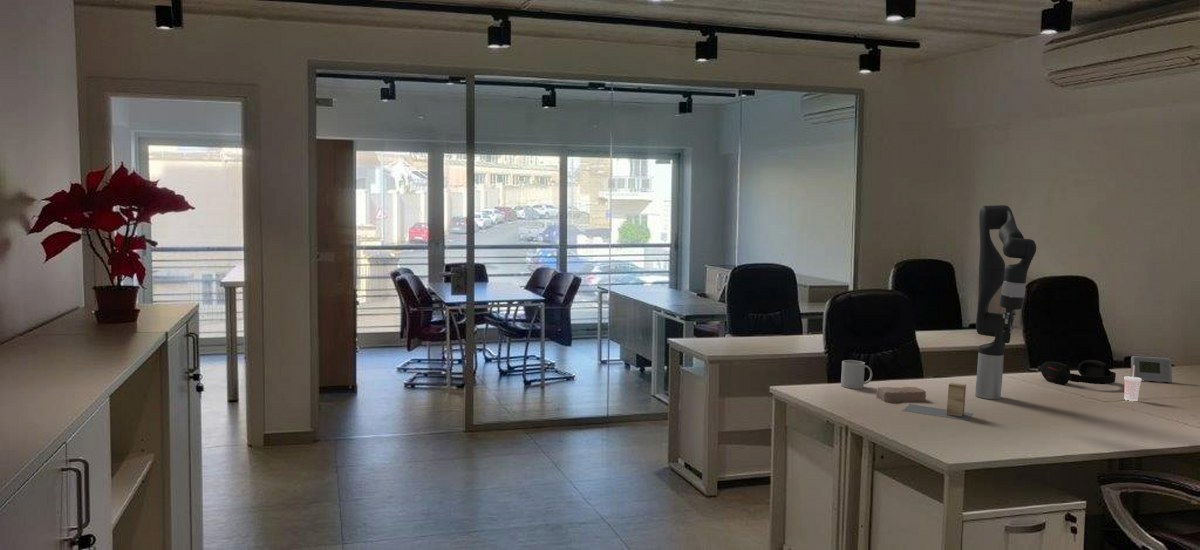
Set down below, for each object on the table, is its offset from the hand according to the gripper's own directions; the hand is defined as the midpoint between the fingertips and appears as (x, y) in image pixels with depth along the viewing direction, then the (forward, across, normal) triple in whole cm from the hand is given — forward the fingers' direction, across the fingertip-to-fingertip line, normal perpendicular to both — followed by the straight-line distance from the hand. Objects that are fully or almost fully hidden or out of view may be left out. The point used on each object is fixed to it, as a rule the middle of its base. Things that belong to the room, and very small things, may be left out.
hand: (1005, 342), depth 313 cm
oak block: (+27, +12, -11) cm, 31 cm away
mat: (+27, +12, -17) cm, 35 cm away
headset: (+28, -92, +17) cm, 98 cm away
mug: (+31, -12, -55) cm, 64 cm away
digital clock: (+27, -118, +44) cm, 129 cm away
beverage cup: (+26, -65, +39) cm, 80 cm away
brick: (+29, -1, -34) cm, 45 cm away
